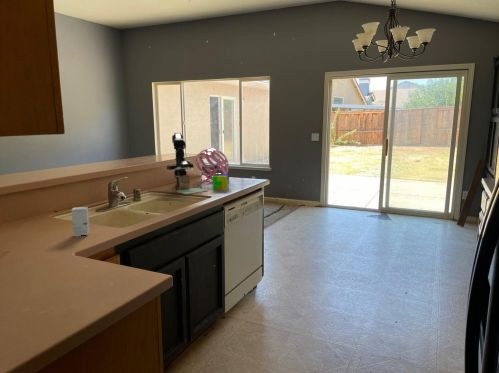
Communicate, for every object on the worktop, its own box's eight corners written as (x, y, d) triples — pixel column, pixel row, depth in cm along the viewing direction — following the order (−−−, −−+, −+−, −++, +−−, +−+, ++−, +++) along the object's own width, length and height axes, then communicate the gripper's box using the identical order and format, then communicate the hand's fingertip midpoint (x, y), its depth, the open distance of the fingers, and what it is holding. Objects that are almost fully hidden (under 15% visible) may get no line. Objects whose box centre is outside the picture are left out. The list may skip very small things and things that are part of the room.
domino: (179, 189, 259) (178, 176, 257) (187, 188, 263) (187, 175, 261) (181, 190, 256) (180, 176, 254) (189, 189, 260) (189, 175, 258)
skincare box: (73, 237, 155) (70, 209, 153) (75, 234, 160) (72, 207, 158) (88, 235, 157) (85, 208, 155) (90, 232, 161) (87, 206, 159)
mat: (175, 191, 253) (175, 190, 252) (198, 188, 263) (198, 187, 263) (185, 194, 242) (185, 193, 242) (208, 191, 252) (208, 190, 252)
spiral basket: (199, 160, 265) (220, 138, 279) (180, 166, 286) (200, 145, 300) (222, 188, 275) (241, 165, 290) (202, 192, 296) (220, 170, 311)
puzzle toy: (229, 187, 264) (228, 174, 262) (227, 190, 254) (226, 176, 252) (215, 187, 265) (215, 174, 263) (213, 190, 255) (212, 176, 253)
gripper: (172, 158, 247) (174, 181, 250) (196, 156, 258) (197, 178, 261) (165, 157, 256) (167, 179, 258) (189, 155, 267) (190, 176, 270)
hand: (180, 178), depth 262 cm, fingers closed
